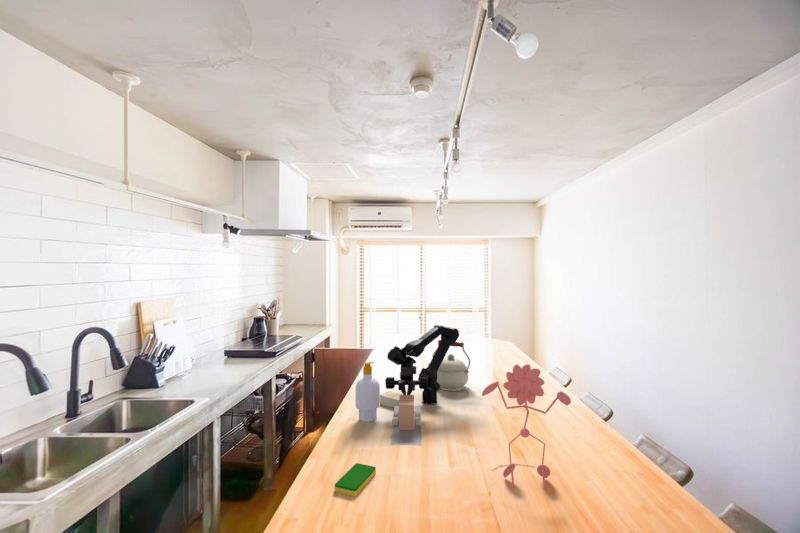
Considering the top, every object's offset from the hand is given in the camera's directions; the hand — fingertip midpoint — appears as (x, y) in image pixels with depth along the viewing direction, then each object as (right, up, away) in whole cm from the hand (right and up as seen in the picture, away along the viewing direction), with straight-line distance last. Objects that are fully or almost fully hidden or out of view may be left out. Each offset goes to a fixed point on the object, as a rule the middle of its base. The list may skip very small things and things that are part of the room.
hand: (406, 401), depth 171 cm
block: (0, -7, -7) cm, 10 cm away
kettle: (+23, -8, +46) cm, 52 cm away
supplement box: (-10, -5, +21) cm, 24 cm away
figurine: (+36, -8, -47) cm, 60 cm away
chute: (0, -8, -9) cm, 12 cm away
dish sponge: (-16, -8, -49) cm, 53 cm away
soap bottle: (-17, -8, 0) cm, 18 cm away
